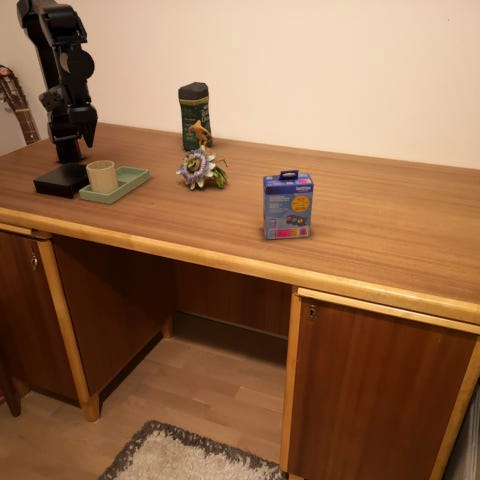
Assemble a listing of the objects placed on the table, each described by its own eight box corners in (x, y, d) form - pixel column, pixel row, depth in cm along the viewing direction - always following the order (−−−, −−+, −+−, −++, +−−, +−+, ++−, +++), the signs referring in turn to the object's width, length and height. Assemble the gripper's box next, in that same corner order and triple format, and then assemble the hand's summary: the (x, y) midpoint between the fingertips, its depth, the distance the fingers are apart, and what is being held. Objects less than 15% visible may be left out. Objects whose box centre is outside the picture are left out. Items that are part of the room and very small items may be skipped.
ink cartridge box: (265, 241, 98) (265, 174, 89) (262, 229, 102) (261, 164, 93) (311, 237, 98) (315, 170, 89) (306, 225, 103) (310, 160, 94)
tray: (123, 173, 132) (121, 165, 130) (150, 178, 129) (149, 169, 127) (81, 199, 119) (78, 190, 118) (110, 204, 116) (108, 195, 114)
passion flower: (195, 208, 124) (165, 172, 119) (213, 186, 131) (184, 151, 126) (223, 192, 117) (192, 153, 112) (240, 169, 123) (211, 131, 118)
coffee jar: (201, 153, 142) (195, 87, 131) (179, 150, 145) (172, 86, 134) (216, 144, 149) (212, 80, 138) (195, 141, 152) (190, 79, 141)
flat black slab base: (72, 174, 133) (68, 162, 131) (105, 179, 129) (102, 166, 127) (36, 192, 123) (32, 180, 121) (71, 199, 119) (68, 186, 117)
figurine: (221, 160, 137) (218, 118, 130) (210, 167, 133) (206, 124, 126) (198, 156, 141) (194, 115, 133) (186, 163, 137) (182, 120, 129)
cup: (104, 185, 124) (98, 159, 120) (124, 188, 121) (119, 162, 117) (87, 195, 119) (80, 168, 115) (108, 198, 117) (102, 171, 112)
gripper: (33, 68, 110) (52, 135, 120) (35, 84, 96) (56, 159, 106) (81, 63, 113) (96, 129, 123) (90, 78, 99) (105, 152, 109)
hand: (88, 142), depth 115 cm, fingers open, 9 cm apart
